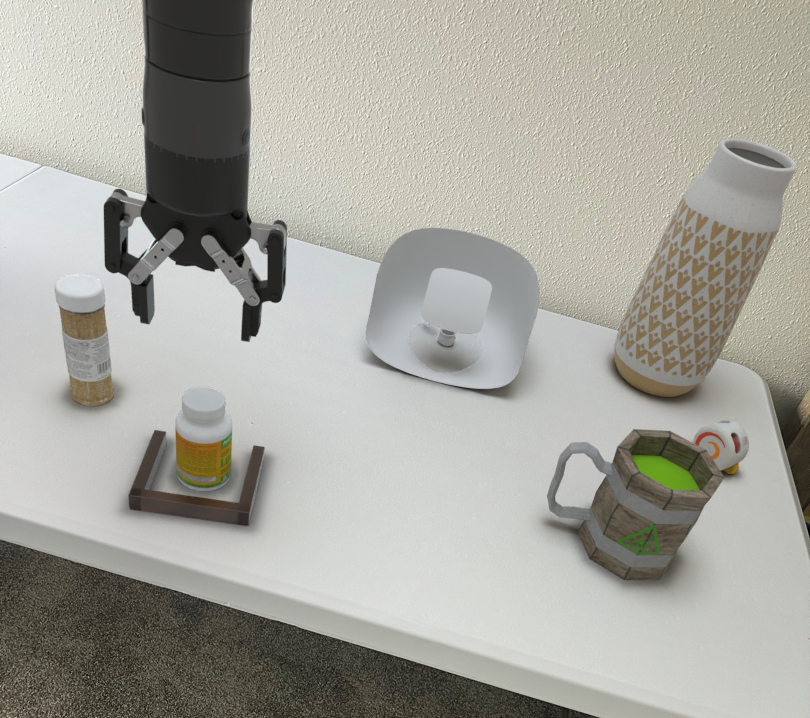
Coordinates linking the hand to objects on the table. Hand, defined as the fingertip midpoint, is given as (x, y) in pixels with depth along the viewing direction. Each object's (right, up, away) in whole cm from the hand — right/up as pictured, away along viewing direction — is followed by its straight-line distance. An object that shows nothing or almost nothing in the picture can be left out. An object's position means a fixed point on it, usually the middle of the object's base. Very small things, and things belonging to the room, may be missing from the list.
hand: (197, 328), depth 68 cm
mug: (+40, -19, +17) cm, 47 cm away
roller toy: (+57, -9, +31) cm, 65 cm away
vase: (+53, +5, +43) cm, 68 cm away
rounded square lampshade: (+23, +8, +39) cm, 46 cm away
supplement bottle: (-3, -12, +13) cm, 18 cm away
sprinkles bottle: (-16, -3, +18) cm, 25 cm away
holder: (-3, -12, +12) cm, 17 cm away
